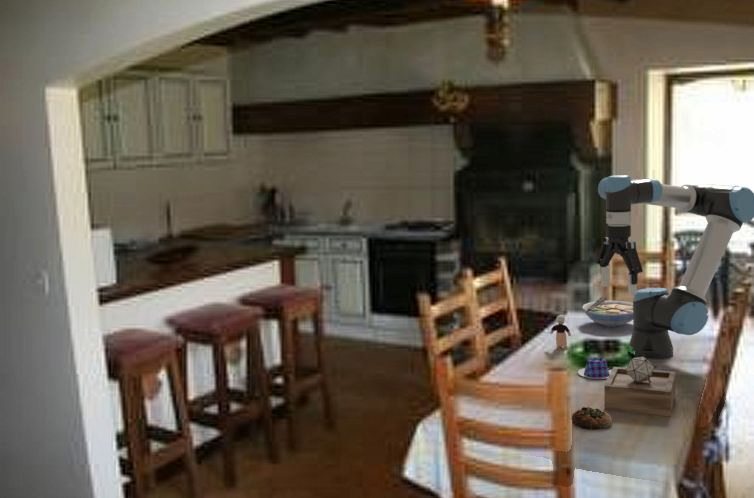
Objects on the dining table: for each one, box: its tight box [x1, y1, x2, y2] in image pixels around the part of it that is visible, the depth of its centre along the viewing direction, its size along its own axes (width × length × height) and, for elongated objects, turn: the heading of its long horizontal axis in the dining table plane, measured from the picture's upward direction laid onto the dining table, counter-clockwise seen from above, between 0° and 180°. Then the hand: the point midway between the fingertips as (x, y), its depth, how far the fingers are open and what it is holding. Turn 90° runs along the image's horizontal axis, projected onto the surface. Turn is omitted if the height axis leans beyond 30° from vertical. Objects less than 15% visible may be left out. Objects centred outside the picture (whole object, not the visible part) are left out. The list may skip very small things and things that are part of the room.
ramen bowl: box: [582, 296, 633, 327], centre depth 313 cm, size 25×23×8 cm
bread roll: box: [571, 406, 613, 430], centre depth 216 cm, size 11×11×5 cm
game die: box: [623, 354, 658, 385], centre depth 228 cm, size 9×8×10 cm
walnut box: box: [603, 366, 676, 417], centre depth 229 cm, size 18×18×7 cm
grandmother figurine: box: [550, 314, 572, 351], centre depth 285 cm, size 8×4×13 cm, turn 71°
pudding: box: [577, 357, 612, 380], centre depth 255 cm, size 12×12×5 cm
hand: (618, 290), depth 248 cm, fingers open, 13 cm apart
